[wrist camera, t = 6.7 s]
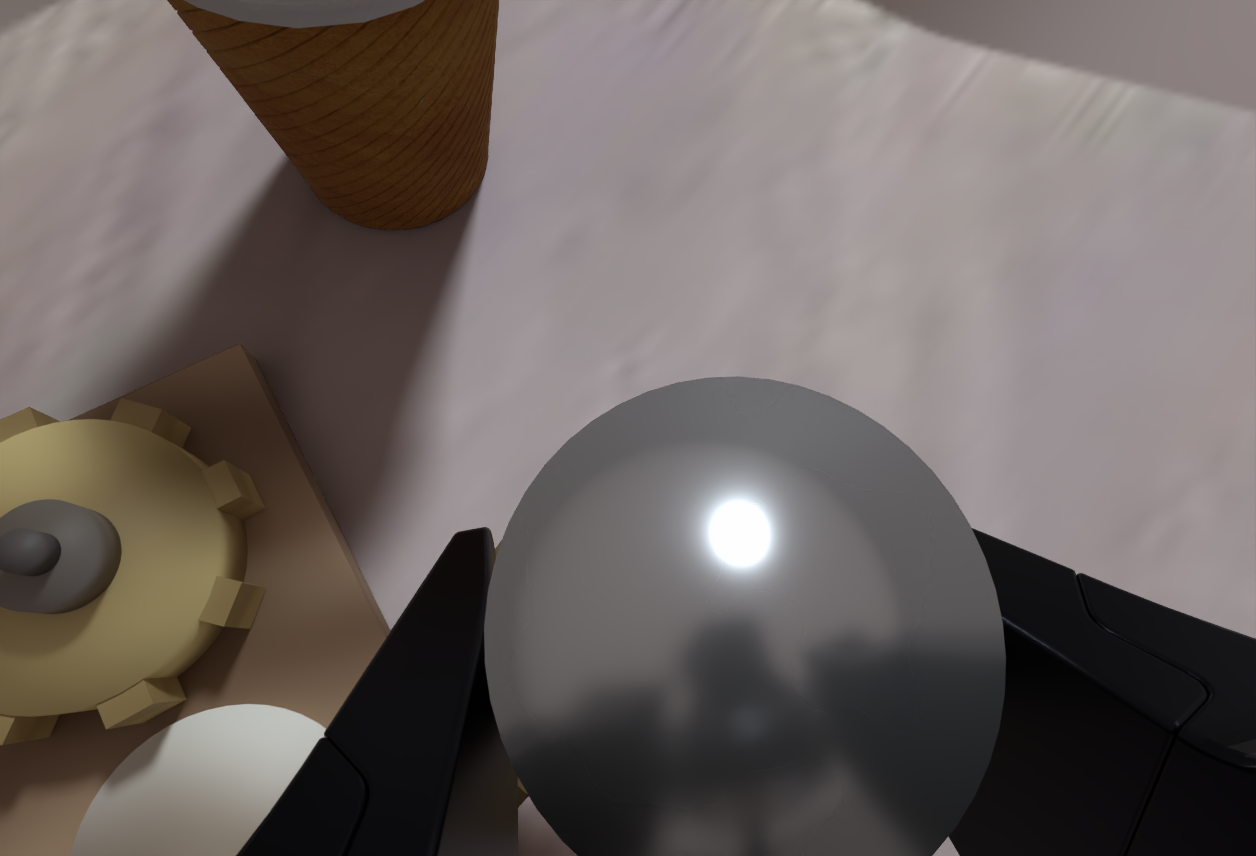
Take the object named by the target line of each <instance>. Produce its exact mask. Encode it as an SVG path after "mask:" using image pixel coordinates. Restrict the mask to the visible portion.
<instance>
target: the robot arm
mask: <svg viewBox="0 0 1256 856" xmlns="http://www.w3.org/2000/svg"><path fill="white" fill-rule="evenodd" d="M972 530H973V532H974V535H975V537H976V539H977V541H978V543H979V545H980V547H981V550H982V552H983V554H984V556H985V559H986V562H987V565H988V568H989V571H990V574H991V577H992V580H993V583H994V586H995V589H996V593H997V598H998V603H999V608H1000V612H1001V617H1002V622H1003V631H1004V642H1005V653H1006V672H1005V696H1004V702H1003V709H1002V715H1001V721H1000V728H999V732H998V735H997V739H996V742H995V746H994V749H993V752H992V756H991V759H990V763H989V765H988V767H987V770H986V772H985V774H984V777H983V779H982V781H981V783H980V786H979V788H978V790H977V793H976V795H975V797H974V798H973V800H972V802H971V803H970V805H969V807H968V808H967V810H966V811H965V813H964V815H963V816H962V818H961V820H960V821H959V823H958V825H957V826H956V827H955V829H954V830H953V831H952V832H951V834H950V835H949V838H950V840H951V842H952V843H953V845H954V847H955V848H956V850H957V852H958V854H959V855H960V856H1256V639H1255V638H1252V637H1249V636H1246V635H1243V634H1240V633H1238V632H1235V631H1232V630H1229V629H1226V628H1223V627H1220V626H1218V625H1215V624H1212V623H1209V622H1206V621H1204V620H1201V619H1198V618H1195V617H1193V616H1190V615H1187V614H1184V613H1181V612H1179V611H1176V610H1173V609H1170V608H1167V607H1165V606H1162V605H1160V604H1157V603H1155V602H1152V601H1149V600H1147V599H1144V598H1142V597H1139V596H1137V595H1134V594H1132V593H1129V592H1127V591H1124V590H1122V589H1119V588H1116V587H1114V586H1112V585H1109V584H1107V583H1104V582H1102V581H1100V580H1097V579H1095V578H1092V577H1090V576H1088V575H1085V574H1083V573H1079V574H1077V575H1076V573H1075V571H1074V570H1072V569H1070V568H1068V567H1065V566H1063V565H1060V564H1058V563H1056V562H1053V561H1051V560H1048V559H1046V558H1044V557H1041V556H1039V555H1036V554H1034V553H1031V552H1029V551H1027V550H1024V549H1022V548H1019V547H1017V546H1014V545H1012V544H1010V543H1007V542H1005V541H1002V540H1000V539H997V538H995V537H993V536H990V535H988V534H985V533H983V532H980V531H978V530H976V529H973V528H972ZM495 559H496V553H495V548H494V542H493V537H492V533H491V531H490V529H489V528H487V527H482V528H477V529H471V530H466V531H460V532H457V533H456V534H455V535H454V536H453V537H452V539H451V540H450V542H449V543H448V545H447V546H446V548H445V549H444V551H443V553H442V554H441V556H440V557H439V559H438V560H437V562H436V563H435V565H434V566H433V568H432V569H431V571H430V572H429V574H428V575H427V577H426V578H425V580H424V581H423V583H422V584H421V586H420V587H419V589H418V590H417V592H416V594H415V595H414V597H413V598H412V600H411V601H410V603H409V604H408V606H407V607H406V609H405V610H404V612H403V613H402V615H401V616H400V618H399V619H398V621H397V622H396V624H395V625H394V627H393V628H392V630H391V631H390V633H389V635H388V636H387V638H386V639H385V641H384V642H383V644H382V645H381V647H380V648H379V650H378V651H377V653H376V654H375V656H374V657H373V659H372V660H371V662H370V663H369V665H368V666H367V668H366V669H365V671H364V672H363V674H362V676H361V677H360V679H359V680H358V682H357V683H356V685H355V686H354V688H353V689H352V691H351V692H350V694H349V695H348V697H347V698H346V700H345V701H344V703H343V704H342V706H341V707H340V709H339V710H338V712H337V714H336V715H335V717H334V718H333V720H332V721H331V723H330V724H329V726H328V727H327V729H326V730H325V732H324V737H322V738H320V739H319V740H318V742H317V743H316V745H315V746H314V748H313V749H312V751H311V752H310V754H309V755H308V757H307V759H306V760H305V762H304V763H303V765H302V766H301V768H300V769H299V770H298V772H297V773H296V775H295V776H294V778H293V779H292V780H291V782H290V783H289V785H288V786H287V788H286V789H285V790H284V792H283V793H282V795H281V796H280V798H279V799H278V801H277V802H276V803H275V805H274V806H273V808H272V809H271V811H270V812H269V813H268V815H267V816H266V817H265V818H264V820H263V821H262V822H261V824H260V825H259V826H258V828H257V829H256V830H255V831H254V833H253V834H252V835H251V837H250V838H249V839H248V841H247V842H246V843H245V844H244V846H243V847H242V848H241V850H240V851H239V852H238V853H237V855H236V856H518V776H517V775H516V772H515V770H514V768H513V765H512V763H511V761H510V758H509V756H508V754H507V751H506V749H505V747H504V744H503V742H502V740H501V737H500V733H499V730H498V726H497V723H496V719H495V716H494V712H493V709H492V705H491V702H490V695H489V688H488V681H487V675H486V668H485V645H484V623H485V614H486V604H487V595H488V588H489V584H490V580H491V576H492V572H493V567H494V563H495Z"/></svg>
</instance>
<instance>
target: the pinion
mask: <svg viewBox="0 0 1256 856" xmlns="http://www.w3.org/2000/svg"><path fill="white" fill-rule="evenodd" d="M495 553H496V559H495V563H494V567H493V572H492V576H491V580H490V584H489V588H488V595H487V604H486V614H485V623H484V645H485V668H486V675H487V681H488V688H489V695H490V702H491V705H492V709H493V712H494V716H495V719H496V723H497V726H498V730H499V733H500V737H501V740H502V742H503V744H504V747H505V749H506V751H507V754H508V756H509V758H510V761H511V763H512V765H513V768H514V770H515V772H516V775H517V776H518V807H519V806H520V805H521V804H522V803H523V802H524V801H525V799H526V798H527V797H528V796H529V797H530V798H531V800H532V802H533V803H534V805H535V807H536V808H537V810H538V811H539V812H540V813H541V815H542V816H543V817H544V819H545V820H546V821H547V822H548V824H549V825H550V826H551V827H552V829H553V830H554V831H555V832H556V834H557V835H558V836H559V837H560V839H561V840H562V841H563V842H564V843H565V844H566V845H567V846H568V847H569V848H570V849H572V850H573V851H574V852H575V853H576V854H577V855H578V856H932V855H933V854H934V853H935V852H936V851H937V849H938V848H939V847H940V846H941V844H942V843H943V842H944V841H945V840H946V838H947V837H948V836H949V835H950V834H951V832H952V831H953V830H954V829H955V827H956V826H957V825H958V823H959V821H960V820H961V818H962V816H963V815H964V813H965V811H966V810H967V808H968V807H969V805H970V803H971V802H972V800H973V798H974V797H975V795H976V793H977V790H978V788H979V786H980V783H981V781H982V779H983V777H984V774H985V772H986V770H987V767H988V765H989V763H990V759H991V756H992V752H993V749H994V746H995V742H996V739H997V735H998V732H999V728H1000V721H1001V715H1002V709H1003V702H1004V696H1005V672H1006V653H1005V642H1004V631H1003V622H1002V617H1001V612H1000V608H999V603H998V598H997V593H996V589H995V586H994V583H993V580H992V577H991V574H990V571H989V568H988V565H987V562H986V559H985V556H984V554H983V552H982V550H981V547H980V545H979V543H978V541H977V539H976V537H975V535H974V532H973V530H972V528H971V526H970V524H969V523H968V521H967V519H966V518H965V516H964V514H963V513H962V511H961V510H960V508H959V506H958V505H957V503H956V501H955V500H954V498H953V497H952V495H951V494H950V493H949V491H948V490H947V489H946V488H945V486H944V485H943V484H942V482H941V481H940V480H939V479H938V477H937V476H936V475H935V474H934V472H933V471H932V470H931V469H930V468H929V467H928V466H927V465H926V464H925V463H924V462H923V461H922V460H921V459H920V458H919V457H918V456H917V455H916V454H915V453H914V452H913V450H912V449H911V448H910V447H908V446H907V445H906V444H905V443H903V442H902V441H901V440H900V439H899V438H897V437H896V436H895V435H894V434H892V433H891V432H890V431H889V430H887V429H886V428H885V427H884V426H882V425H880V424H879V423H877V422H876V421H874V420H873V419H871V418H869V417H868V416H866V415H865V414H863V413H862V412H860V411H858V410H857V409H855V408H853V407H851V406H848V405H846V404H844V403H842V402H840V401H838V400H836V399H834V398H832V397H830V396H827V395H824V394H821V393H819V392H816V391H813V390H810V389H807V388H804V387H801V386H798V385H793V384H788V383H784V382H779V381H774V380H770V379H759V378H748V377H715V378H703V379H697V380H691V381H685V382H679V383H675V384H671V385H668V386H665V387H661V388H658V389H655V390H651V391H648V392H646V393H643V394H641V395H639V396H637V397H635V398H632V399H630V400H628V401H626V402H623V403H621V404H619V405H617V406H616V407H614V408H612V409H611V410H609V411H608V412H606V413H604V414H603V415H601V416H599V417H598V418H596V419H595V420H593V421H592V422H590V423H589V424H588V425H587V426H585V427H584V428H583V429H582V430H581V431H579V432H578V433H577V434H576V435H574V436H573V437H572V438H571V439H569V440H568V441H567V442H566V443H565V444H564V445H563V446H562V447H561V448H560V450H559V451H558V452H557V453H556V454H555V455H554V456H553V457H552V458H551V459H550V460H549V461H548V462H547V463H546V464H545V466H544V467H543V468H542V470H541V471H540V472H539V474H538V475H537V477H536V478H535V479H534V481H533V482H532V484H531V485H530V486H529V488H528V489H527V490H526V492H525V494H524V495H523V497H522V499H521V501H520V503H519V505H518V507H517V508H516V510H515V512H514V514H513V516H512V518H511V519H510V521H509V524H508V526H507V529H506V531H505V534H504V537H503V539H502V541H501V542H500V543H499V545H498V546H497V547H496V549H495Z"/></svg>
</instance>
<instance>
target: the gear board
mask: <svg viewBox="0 0 1256 856" xmlns="http://www.w3.org/2000/svg"><path fill="white" fill-rule="evenodd" d="M389 633H390V629H389V627H388V625H387V623H386V621H385V619H384V617H383V615H382V613H381V611H380V609H379V607H378V605H377V603H376V601H375V599H374V597H373V595H372V593H371V591H370V589H369V587H368V585H367V583H366V581H365V579H364V577H363V575H362V573H361V571H360V569H359V567H358V565H357V563H356V561H355V559H354V557H353V554H352V552H351V550H350V548H349V546H348V544H347V542H346V540H345V538H344V536H343V534H342V532H341V530H340V528H339V526H338V524H337V522H336V520H335V518H334V516H333V514H332V512H331V510H330V508H329V506H328V504H327V502H326V500H325V498H324V496H323V494H322V492H321V490H320V488H319V486H318V484H317V482H316V480H315V478H314V476H313V474H312V472H311V470H310V468H309V466H308V464H307V462H306V460H305V458H304V456H303V454H302V452H301V450H300V448H299V446H298V444H297V442H296V440H295V438H294V436H293V434H292V432H291V430H290V428H289V426H288V424H287V422H286V420H285V418H284V416H283V414H282V412H281V410H280V408H279V406H278V404H277V402H276V400H275V398H274V396H273V394H272V392H271V390H270V388H269V386H268V384H267V382H266V380H265V378H264V376H263V374H262V372H261V370H260V368H259V366H258V364H257V362H256V360H255V358H254V357H253V356H252V355H251V354H250V353H249V352H248V351H247V350H246V349H245V348H244V347H243V346H242V345H241V344H238V345H235V346H233V347H231V348H229V349H227V350H224V351H222V352H220V353H218V354H215V355H213V356H211V357H209V358H206V359H204V360H202V361H200V362H198V363H195V364H193V365H191V366H189V367H186V368H184V369H182V370H180V371H177V372H175V373H173V374H171V375H169V376H166V377H164V378H162V379H160V380H157V381H155V382H153V383H151V384H148V385H146V386H144V387H142V388H140V389H137V390H135V391H133V392H131V393H128V394H126V395H124V396H122V397H119V398H117V399H115V400H113V401H111V402H108V403H106V404H104V405H102V406H99V407H97V408H95V409H93V410H90V411H88V412H86V413H84V414H81V415H79V416H77V417H75V418H73V419H70V420H68V421H63V422H60V421H58V420H56V419H54V418H52V417H50V416H48V415H45V414H43V413H41V412H39V411H37V410H35V409H33V408H31V407H28V408H26V409H24V410H21V411H19V412H17V413H14V414H12V415H10V416H8V417H5V418H3V419H1V420H0V856H236V855H237V853H238V852H239V851H240V850H241V848H242V847H243V846H244V844H245V843H246V842H247V841H248V839H249V838H250V837H251V835H252V834H253V833H254V831H255V830H256V829H257V828H258V826H259V825H260V824H261V822H262V821H263V820H264V818H265V817H266V816H267V815H268V813H269V812H270V811H271V809H272V808H273V806H274V805H275V803H276V802H277V801H278V799H279V798H280V796H281V795H282V793H283V792H284V790H285V789H286V788H287V786H288V785H289V783H290V782H291V780H292V779H293V778H294V776H295V775H296V773H297V772H298V770H299V769H300V768H301V766H302V765H303V763H304V762H305V760H306V759H307V757H308V755H309V754H310V752H311V751H312V749H313V748H314V746H315V745H316V743H317V742H318V740H319V739H320V738H322V737H324V732H325V730H326V729H327V727H328V726H329V724H330V723H331V721H332V720H333V718H334V717H335V715H336V714H337V712H338V710H339V709H340V707H341V706H342V704H343V703H344V701H345V700H346V698H347V697H348V695H349V694H350V692H351V691H352V689H353V688H354V686H355V685H356V683H357V682H358V680H359V679H360V677H361V676H362V674H363V672H364V671H365V669H366V668H367V666H368V665H369V663H370V662H371V660H372V659H373V657H374V656H375V654H376V653H377V651H378V650H379V648H380V647H381V645H382V644H383V642H384V641H385V639H386V638H387V636H388V635H389Z"/></svg>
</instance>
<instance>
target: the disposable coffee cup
mask: <svg viewBox="0 0 1256 856" xmlns="http://www.w3.org/2000/svg"><path fill="white" fill-rule="evenodd" d="M168 2H169V3H170V4H171V5H172V7H173V8H174V9H175V10H178V12H177V14H178V15H179V16H180V18H181V19H182V20H183V21H184V23H185V24H186V25H187V26H188V28H189V29H190V30H193V32H192V33H193V35H194V36H195V37H196V38H197V40H198V41H199V42H200V43H201V45H202V46H203V47H204V48H205V49H207V53H208V54H209V55H210V57H211V58H212V59H213V60H214V62H215V63H216V64H217V65H218V66H219V67H220V70H221V71H222V72H223V73H224V75H225V76H226V77H227V78H228V80H229V81H230V82H231V83H232V85H233V86H234V87H235V89H236V90H237V91H238V93H239V94H240V95H241V96H242V98H243V99H244V101H245V102H246V103H247V105H248V106H249V107H250V108H251V110H252V111H253V112H254V113H255V115H256V117H257V118H258V119H259V120H260V122H261V123H262V124H263V125H264V127H265V128H266V129H267V131H268V132H269V133H270V134H271V136H272V137H273V138H274V140H275V141H276V142H277V143H278V145H279V146H280V147H281V149H282V150H283V151H284V153H285V154H286V155H287V156H288V158H289V159H290V160H291V162H292V163H293V164H294V165H295V167H296V168H297V169H298V171H299V172H300V173H301V175H302V176H303V177H304V179H305V180H306V181H307V183H308V184H309V185H310V187H311V188H312V190H313V191H314V192H315V194H316V195H317V196H318V197H319V199H320V200H321V201H322V202H323V203H324V204H325V205H326V206H328V207H329V208H330V209H331V210H332V211H333V212H335V213H337V214H339V215H340V216H342V217H344V218H346V219H347V220H349V221H352V222H355V223H358V224H361V225H363V226H366V227H372V228H378V229H384V230H388V229H410V228H415V227H421V226H424V225H427V224H429V223H432V222H435V221H437V220H440V219H442V218H444V217H446V216H447V215H449V214H450V213H452V212H454V211H455V210H457V209H458V208H459V207H461V206H462V205H463V204H464V203H465V202H466V201H467V200H468V199H469V198H470V197H471V196H472V194H473V193H474V192H475V190H476V189H477V188H478V186H479V184H480V182H481V180H482V178H483V176H484V174H485V170H486V166H487V161H488V145H489V132H490V119H491V105H492V91H493V79H494V64H495V49H496V35H497V19H498V10H499V0H168Z"/></svg>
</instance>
